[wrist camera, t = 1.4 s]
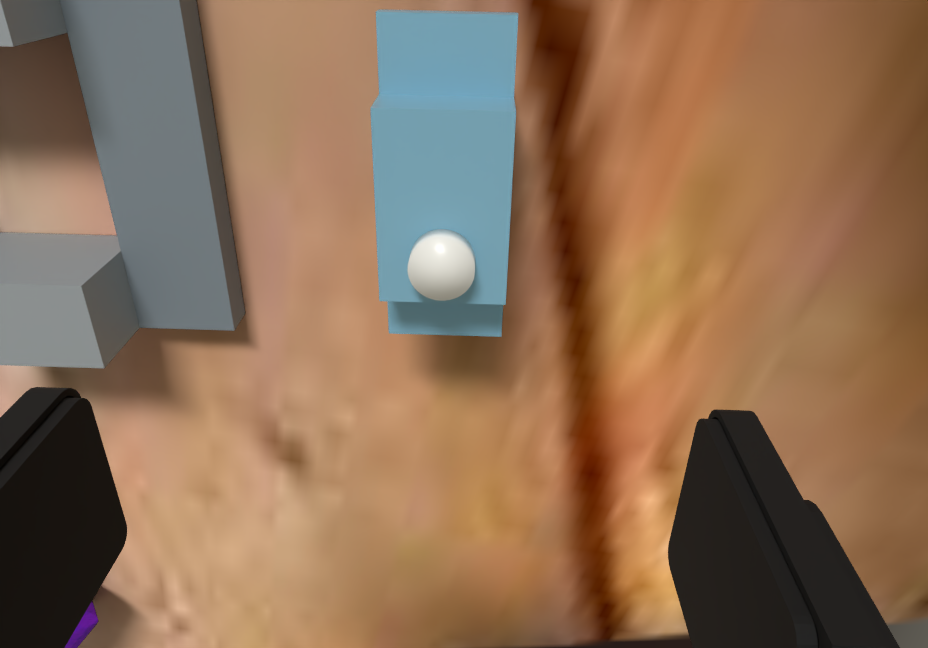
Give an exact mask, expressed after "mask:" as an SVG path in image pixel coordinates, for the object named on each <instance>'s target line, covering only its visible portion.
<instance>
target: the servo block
mask: <svg viewBox="0 0 928 648" xmlns="http://www.w3.org/2000/svg"><path fill="white" fill-rule="evenodd" d="M376 27H377V52H378V76H379V95H378V97H377V99H376V100H375V102H374V103H373V105H372V106H371V130H372V151H373V172H374V193H375V215H376V236H377V257H378V278H379V299H380V301H388V322H389V333H395V334H428V335H461V336H494V337H501V334H502V315H503V305H506V288H507V270H508V252H509V233H510V215H511V196H512V178H513V160H514V141H515V123H516V108H515V101H514V86H515V67H516V48H517V28H518V13H510V12H467V11H423V10H380V9H379V10H377V11H376Z"/></svg>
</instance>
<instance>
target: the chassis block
mask: <svg viewBox="0 0 928 648" xmlns="http://www.w3.org/2000/svg"><path fill="white" fill-rule="evenodd" d="M65 33H68V37H69V41H70V45H71V49H72V53H73V57H74V62H75V66H76V70H77V74H78V78H79V82H80V86H81V90H82V94H83V98H84V102H85V107H86V111H87V115H88V119H89V123H90V127H91V131H92V135H93V139H94V143H95V147H96V152H97V156H98V160H99V164H100V168H101V172H102V176H103V180H104V184H105V188H106V192H107V196H108V201H109V205H110V209H111V213H112V217H113V221H114V225H115V229H116V233H117V236H112V235H77V234H41V233H6V232H0V365H14V366H45V367H77V368H105V367H106V366H107V365H108V364H109V362H110V361H111V360H112V359H113V358H114V357H115V356H116V354H117V353H118V352H119V351H120V350H121V349H122V347H123V346H124V345H125V344H126V343H127V342H128V341H129V339H130V338H131V337H132V336H133V335H134V334H135V332H136V331H137V330H138V329H139V328H166V329H199V330H231V331H234V330H235V329H236V327H237V326H238V324H239V322H240V321H241V319H242V318H243V316H244V314H245V309H244V302H243V296H242V290H241V283H240V277H239V270H238V264H237V258H236V251H235V245H234V238H233V232H232V226H231V219H230V213H229V206H228V200H227V194H226V187H225V181H224V174H223V168H222V162H221V155H220V149H219V142H218V136H217V130H216V123H215V117H214V110H213V104H212V98H211V91H210V85H209V78H208V72H207V66H206V59H205V53H204V46H203V40H202V34H201V27H200V21H199V14H198V8H197V2H196V0H0V46H7V47H14V46H18V45H22V44H26V43H30V42H34V41H38V40H42V39H46V38H49V37H53V36H57V35H61V34H65Z"/></svg>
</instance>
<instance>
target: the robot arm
mask: <svg viewBox="0 0 928 648" xmlns="http://www.w3.org/2000/svg"><path fill="white" fill-rule="evenodd" d="M126 536H127V525H126V521H125V517H124V514H123V511H122V507H121V504H120V500H119V497H118V494H117V490H116V487H115V484H114V480H113V477H112V474H111V470H110V467H109V463H108V460H107V457H106V453H105V450H104V447H103V443H102V440H101V437H100V433H99V430H98V426H97V423H96V420H95V416H94V413H93V410H92V406H91V404H90V402H89V401H88V400H87V399H85V398H81V397H80V394H79V393H78V392H77V391H76V390H74V389H71V388H46V387H35V388H31V389H29V390H28V391H27V392H25V393H24V394H23V395H22V396H21V397H20V398H19V399H18V400H17V401H16V402H15V403H14V404H13V405H12V406H11V407H10V408H9V409H8V410H7V411H6V412H5V414H4V415H3V416H2V417H1V418H0V648H65V646H66V644H67V643H68V641H69V639H70V638H71V636H72V634H73V632H74V631H75V629H76V627H77V626H78V624H79V622H80V620H81V619H82V617H83V615H84V614H85V612H86V610H87V609H88V607H89V605H90V603H91V602H92V600H93V598H94V597H95V595H96V593H97V592H98V590H99V588H100V586H101V585H102V583H103V581H104V580H105V578H106V576H107V574H108V573H109V571H110V569H111V568H112V566H113V564H114V563H115V561H116V559H117V557H118V556H119V554H120V552H121V551H122V549H123V547H124V544H125V541H126ZM668 559H669V566H670V570H671V574H672V577H673V581H674V584H675V588H676V591H677V594H678V598H679V601H680V605H681V608H682V612H683V615H684V619H685V622H686V626H687V629H688V633H689V636H690V640H691V643H692V646H693V648H900V647H899V645H898V644H897V642H896V640H895V639H894V637H893V635H892V633H891V632H890V630H889V628H888V626H887V625H886V623H885V621H884V619H883V618H882V616H881V614H880V613H879V611H878V609H877V607H876V606H875V604H874V602H873V600H872V599H871V597H870V595H869V593H868V592H867V590H866V588H865V587H864V585H863V583H862V581H861V580H860V578H859V576H858V574H857V573H856V571H855V569H854V567H853V566H852V564H851V562H850V561H849V559H848V557H847V555H846V554H845V552H844V550H843V548H842V547H841V545H840V543H839V541H838V540H837V538H836V536H835V535H834V533H833V531H832V529H831V528H830V526H829V524H828V522H827V521H826V519H825V517H824V515H823V514H822V512H821V511H820V509H819V508H818V507H817V506H816V504H814V503H813V502H811V501H809V500H803V498H802V496H801V495H800V493H799V491H798V489H797V487H796V486H795V484H794V482H793V480H792V478H791V477H790V475H789V473H788V471H787V469H786V468H785V466H784V464H783V462H782V460H781V459H780V457H779V455H778V453H777V451H776V450H775V448H774V446H773V444H772V442H771V441H770V439H769V437H768V435H767V434H766V432H765V430H764V428H763V426H762V425H761V423H760V421H759V419H758V417H757V416H756V415H755V413H754V412H752V411H742V410H713V411H712V412H711V413H710V415H709V418H708V419H699V421H698V422H697V425H696V428H695V433H694V437H693V441H692V446H691V450H690V454H689V459H688V463H687V467H686V472H685V476H684V480H683V485H682V489H681V493H680V498H679V502H678V506H677V511H676V515H675V519H674V524H673V528H672V532H671V536H670V541H669V547H668Z"/></svg>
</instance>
